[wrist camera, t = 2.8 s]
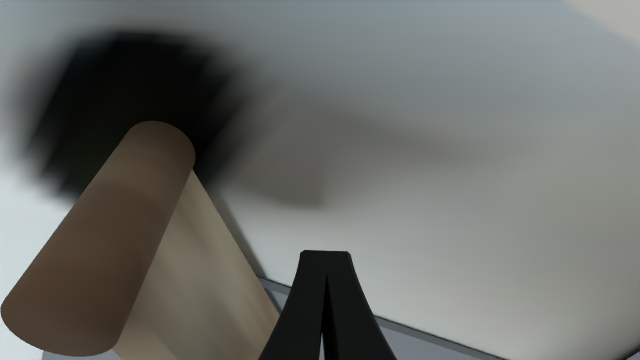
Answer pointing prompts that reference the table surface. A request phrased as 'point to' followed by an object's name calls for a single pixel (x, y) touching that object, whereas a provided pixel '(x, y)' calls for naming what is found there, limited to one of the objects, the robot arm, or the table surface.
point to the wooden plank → (143, 266)
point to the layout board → (407, 344)
